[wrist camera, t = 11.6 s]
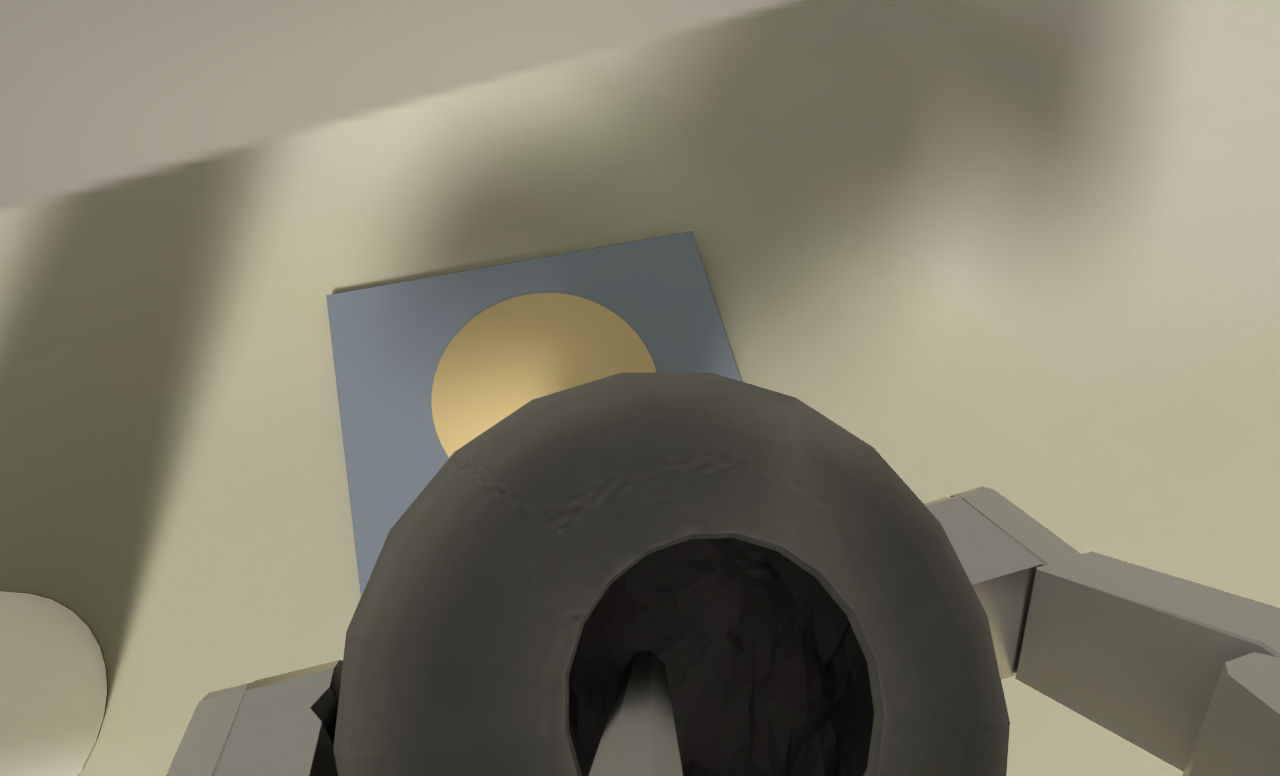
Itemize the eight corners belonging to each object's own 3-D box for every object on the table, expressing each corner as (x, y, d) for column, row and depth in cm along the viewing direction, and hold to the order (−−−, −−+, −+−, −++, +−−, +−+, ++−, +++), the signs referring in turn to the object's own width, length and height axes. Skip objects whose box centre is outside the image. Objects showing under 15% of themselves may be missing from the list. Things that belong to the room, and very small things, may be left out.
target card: (690, 236, 27) (692, 229, 26) (776, 499, 23) (780, 496, 23) (330, 300, 24) (325, 294, 24) (365, 603, 21) (360, 603, 20)
